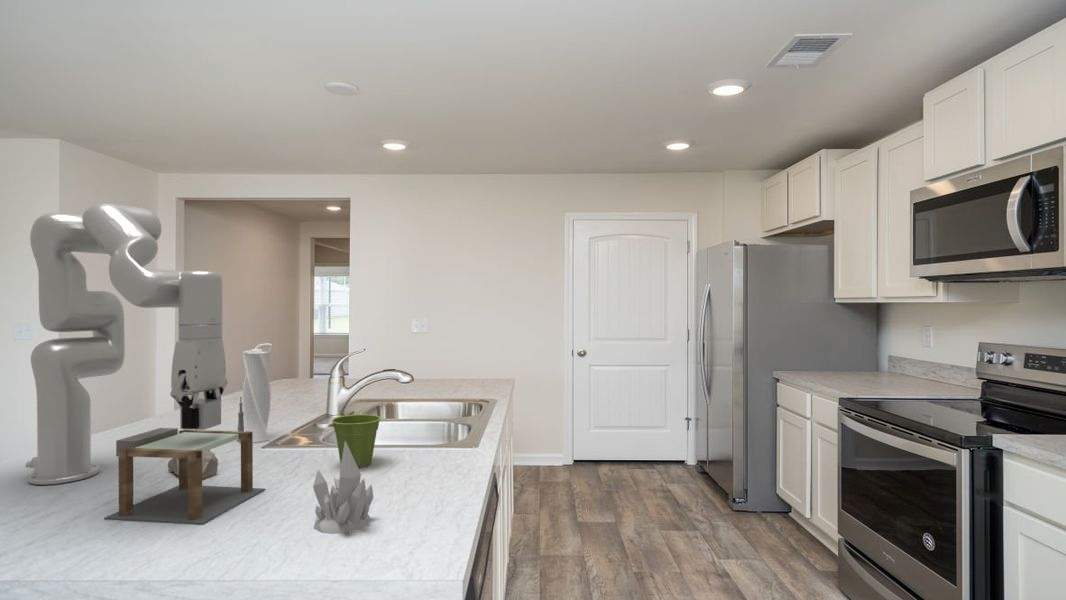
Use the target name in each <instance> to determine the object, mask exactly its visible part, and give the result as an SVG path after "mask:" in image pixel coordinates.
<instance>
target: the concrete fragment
mask: <svg viewBox="0 0 1066 600" xmlns="http://www.w3.org/2000/svg"><path fill="white" fill-rule="evenodd" d="M218 461H219V460H218V458H217V457H216V454H215V453H214V452H213V451H211V450H208V451H205V452H203V453H202V481H204V480H205V479H207V478H209V477H213V476H216V475H217V472H218V467H219V462H218ZM167 468H168V473H174V474H175V476H178V477H179V458H170V460H169V461H168V463H167Z"/></svg>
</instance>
